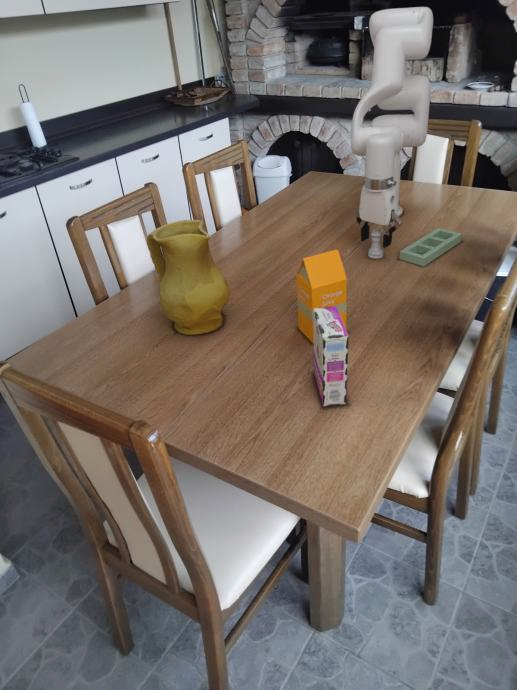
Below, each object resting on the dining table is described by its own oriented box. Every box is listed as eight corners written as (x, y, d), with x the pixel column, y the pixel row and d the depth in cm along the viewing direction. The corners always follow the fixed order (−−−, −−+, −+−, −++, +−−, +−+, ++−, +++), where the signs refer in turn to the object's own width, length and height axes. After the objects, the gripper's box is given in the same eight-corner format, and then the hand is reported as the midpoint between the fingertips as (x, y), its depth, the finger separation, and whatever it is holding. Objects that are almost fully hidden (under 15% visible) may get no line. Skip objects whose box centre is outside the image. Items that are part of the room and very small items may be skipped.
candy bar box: (348, 405, 106) (349, 335, 97) (323, 407, 106) (322, 338, 96) (336, 370, 115) (337, 304, 106) (313, 373, 115) (311, 307, 106)
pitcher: (178, 348, 126) (160, 246, 113) (154, 317, 141) (136, 224, 128) (244, 327, 132) (234, 229, 119) (214, 300, 147) (203, 209, 134)
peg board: (399, 259, 156) (399, 251, 155) (437, 235, 167) (438, 227, 166) (423, 266, 151) (424, 258, 150) (461, 241, 162) (462, 233, 161)
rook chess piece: (383, 259, 156) (384, 233, 152) (367, 259, 157) (368, 233, 153) (383, 253, 160) (384, 227, 155) (368, 252, 161) (369, 227, 156)
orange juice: (298, 328, 130) (294, 252, 119) (330, 318, 132) (329, 242, 121) (313, 344, 124) (311, 265, 113) (346, 333, 126) (348, 255, 115)
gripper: (414, 184, 143) (408, 246, 153) (360, 173, 154) (359, 232, 164) (398, 192, 139) (393, 255, 149) (344, 180, 150) (343, 240, 160)
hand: (375, 242), depth 157 cm, fingers open, 6 cm apart
